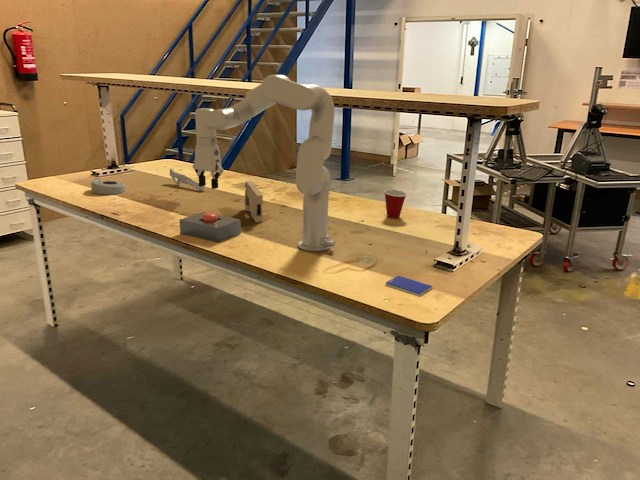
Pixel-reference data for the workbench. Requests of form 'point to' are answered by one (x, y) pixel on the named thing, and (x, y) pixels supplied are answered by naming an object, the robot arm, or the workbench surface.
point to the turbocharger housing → (107, 187)
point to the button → (209, 217)
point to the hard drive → (408, 285)
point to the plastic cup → (394, 202)
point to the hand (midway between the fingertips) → (208, 186)
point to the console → (210, 227)
